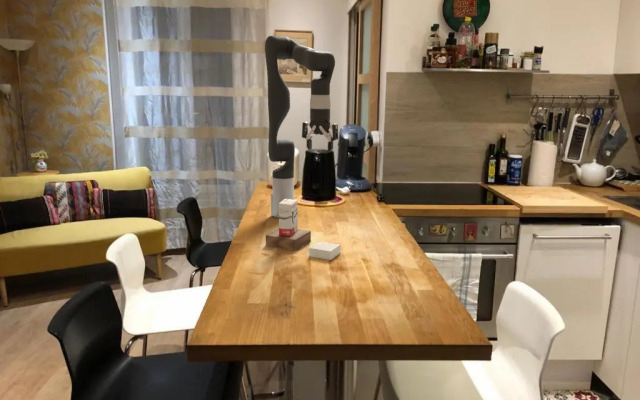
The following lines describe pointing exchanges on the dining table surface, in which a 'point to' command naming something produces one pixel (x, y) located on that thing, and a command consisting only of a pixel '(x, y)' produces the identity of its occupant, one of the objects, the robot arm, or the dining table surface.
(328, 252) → the white square block
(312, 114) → the robot arm
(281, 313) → the dining table surface
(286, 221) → the ink box
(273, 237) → the walnut slab
